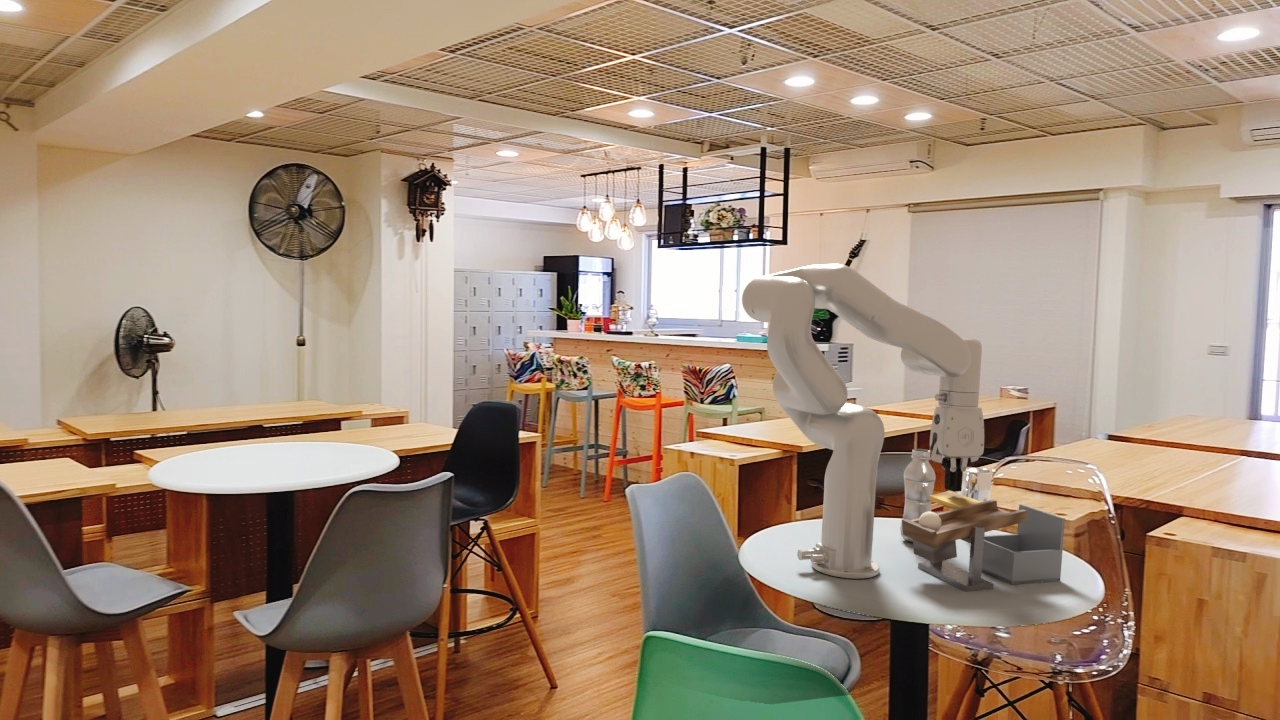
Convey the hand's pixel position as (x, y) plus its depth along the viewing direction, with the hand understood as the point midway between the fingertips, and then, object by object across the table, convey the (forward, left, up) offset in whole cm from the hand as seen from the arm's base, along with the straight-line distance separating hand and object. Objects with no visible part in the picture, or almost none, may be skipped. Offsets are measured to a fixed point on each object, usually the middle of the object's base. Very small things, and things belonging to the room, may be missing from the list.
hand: (952, 489), depth 176 cm
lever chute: (-5, -6, -8) cm, 11 cm away
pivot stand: (-7, -11, -14) cm, 19 cm away
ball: (-13, -11, -3) cm, 18 cm away
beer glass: (+17, +14, -14) cm, 26 cm away
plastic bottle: (+1, +12, -14) cm, 19 cm away
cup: (+7, -11, -14) cm, 19 cm away
